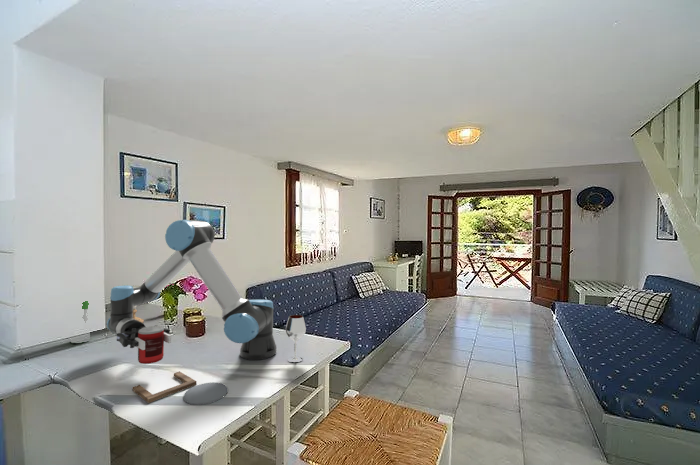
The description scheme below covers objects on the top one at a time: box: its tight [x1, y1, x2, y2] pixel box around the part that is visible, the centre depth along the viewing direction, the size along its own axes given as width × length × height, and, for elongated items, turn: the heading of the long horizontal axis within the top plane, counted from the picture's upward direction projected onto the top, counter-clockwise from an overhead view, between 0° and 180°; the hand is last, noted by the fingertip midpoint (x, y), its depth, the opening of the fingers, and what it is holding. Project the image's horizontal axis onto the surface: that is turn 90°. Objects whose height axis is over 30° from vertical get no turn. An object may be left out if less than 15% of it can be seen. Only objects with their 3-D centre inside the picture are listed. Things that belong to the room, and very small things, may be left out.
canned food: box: [137, 325, 165, 365], centre depth 114 cm, size 8×8×11 cm
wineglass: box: [285, 314, 307, 360], centre depth 132 cm, size 8×8×18 cm
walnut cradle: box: [132, 371, 198, 404], centre depth 107 cm, size 12×15×1 cm
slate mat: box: [183, 382, 229, 406], centre depth 104 cm, size 13×13×1 cm
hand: (157, 342), depth 111 cm, fingers closed on canned food, 8 cm apart
